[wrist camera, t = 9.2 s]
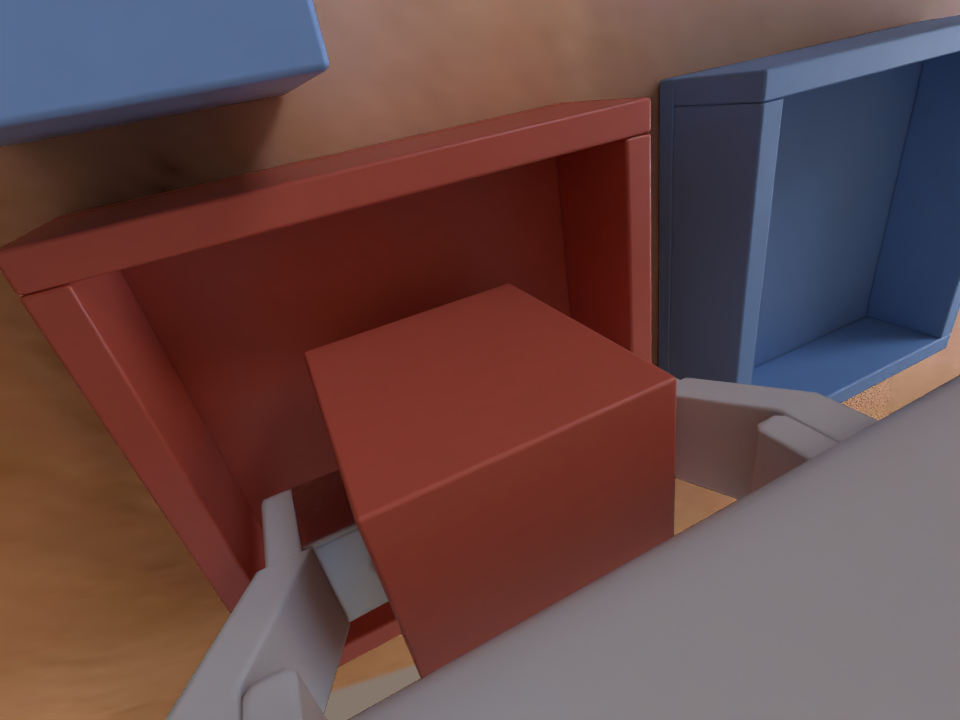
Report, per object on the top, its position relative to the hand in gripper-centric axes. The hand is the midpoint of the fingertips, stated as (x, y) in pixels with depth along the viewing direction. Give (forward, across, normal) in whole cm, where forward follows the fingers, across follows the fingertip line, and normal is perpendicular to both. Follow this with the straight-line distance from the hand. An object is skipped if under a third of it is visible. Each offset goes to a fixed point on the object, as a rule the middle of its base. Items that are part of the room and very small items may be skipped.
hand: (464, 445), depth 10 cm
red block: (+2, 0, 0) cm, 2 cm away
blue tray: (+4, -13, 0) cm, 13 cm away
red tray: (+4, 0, 0) cm, 4 cm away
